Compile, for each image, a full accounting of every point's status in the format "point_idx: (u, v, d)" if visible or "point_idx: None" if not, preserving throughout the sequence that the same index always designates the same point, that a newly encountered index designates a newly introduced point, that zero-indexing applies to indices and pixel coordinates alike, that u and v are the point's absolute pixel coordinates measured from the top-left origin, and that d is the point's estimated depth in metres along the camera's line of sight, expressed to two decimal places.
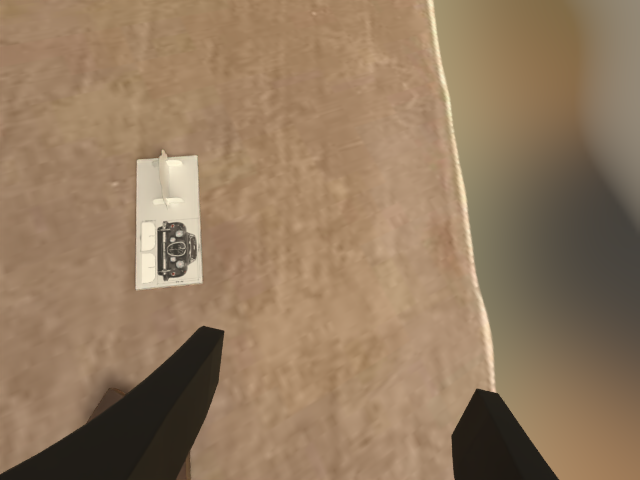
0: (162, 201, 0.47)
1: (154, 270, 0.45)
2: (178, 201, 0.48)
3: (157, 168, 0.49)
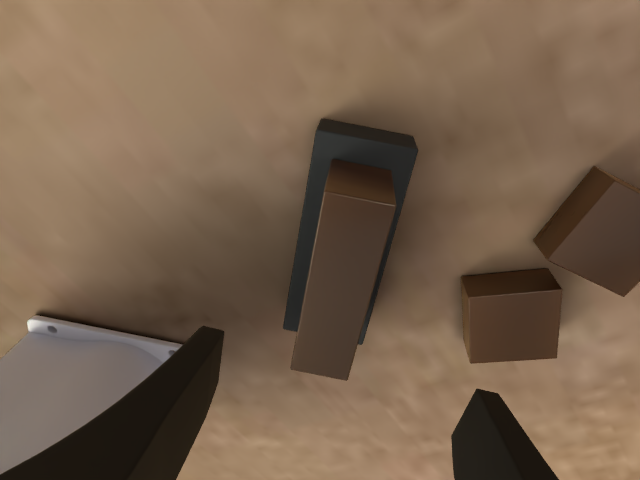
0: None
1: None
2: None
3: None
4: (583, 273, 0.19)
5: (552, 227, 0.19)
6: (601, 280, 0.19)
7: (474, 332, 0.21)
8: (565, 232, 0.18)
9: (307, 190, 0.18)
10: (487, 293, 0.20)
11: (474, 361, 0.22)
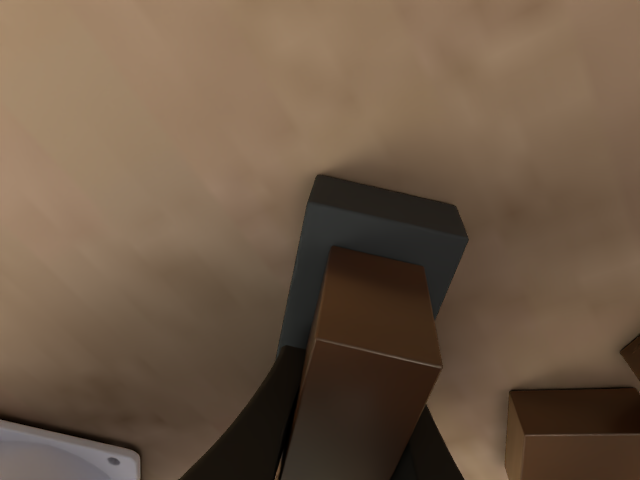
0: None
1: None
2: None
3: None
4: None
5: None
6: None
7: (527, 476, 0.15)
8: None
9: (292, 287, 0.12)
10: (552, 429, 0.14)
11: None
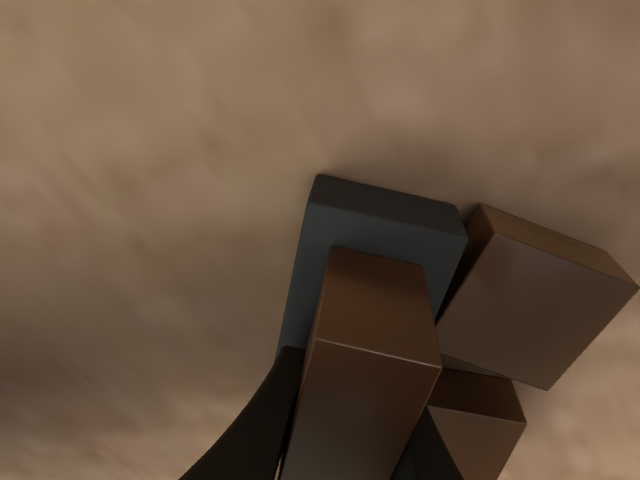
0: None
1: None
2: None
3: None
4: (479, 362, 0.13)
5: None
6: (508, 371, 0.13)
7: None
8: (442, 306, 0.12)
9: (292, 286, 0.12)
10: None
11: None
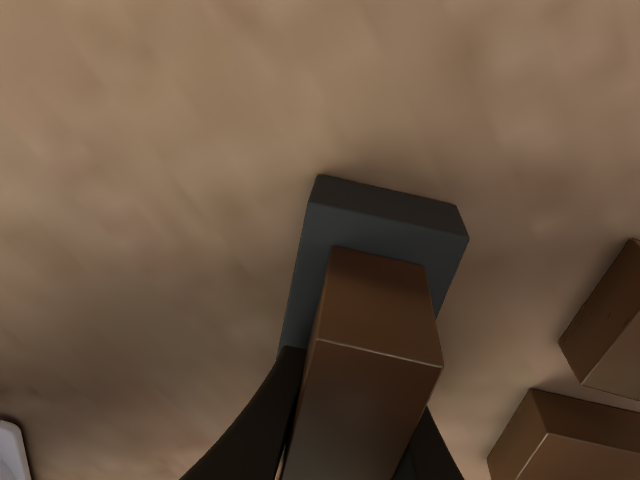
0: None
1: None
2: None
3: None
4: None
5: (582, 329, 0.13)
6: None
7: (526, 473, 0.14)
8: (602, 345, 0.12)
9: (293, 286, 0.12)
10: (572, 433, 0.14)
11: None
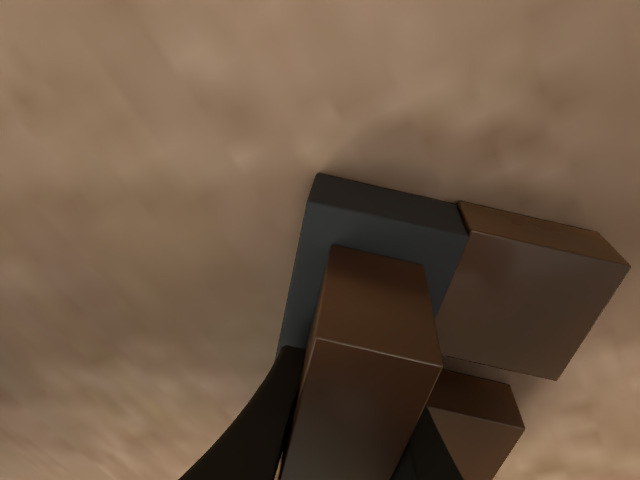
0: None
1: None
2: None
3: None
4: (482, 359, 0.12)
5: None
6: (512, 365, 0.12)
7: None
8: None
9: (292, 286, 0.12)
10: None
11: None
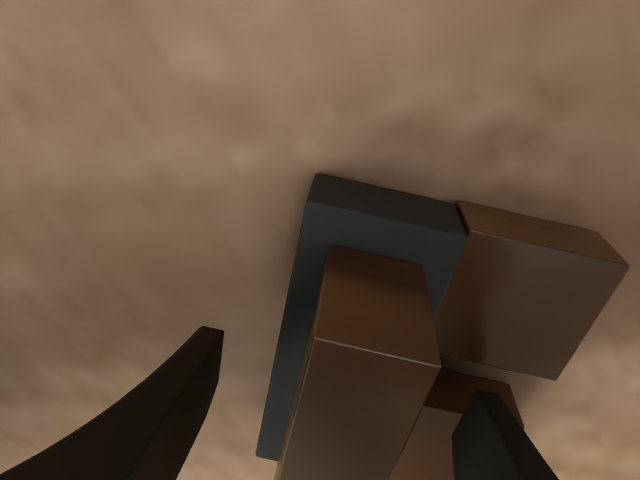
0: None
1: None
2: None
3: None
4: (481, 358, 0.12)
5: None
6: (512, 364, 0.12)
7: None
8: None
9: (291, 286, 0.12)
10: (426, 400, 0.14)
11: None
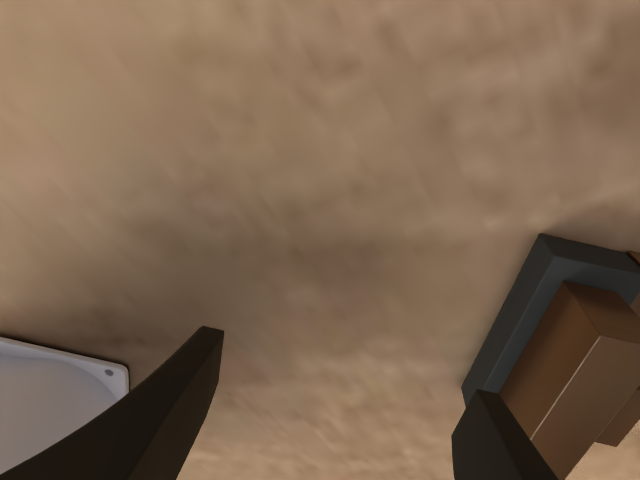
0: None
1: None
2: None
3: None
4: None
5: None
6: None
7: None
8: None
9: (529, 304, 0.19)
10: None
11: None
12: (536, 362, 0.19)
